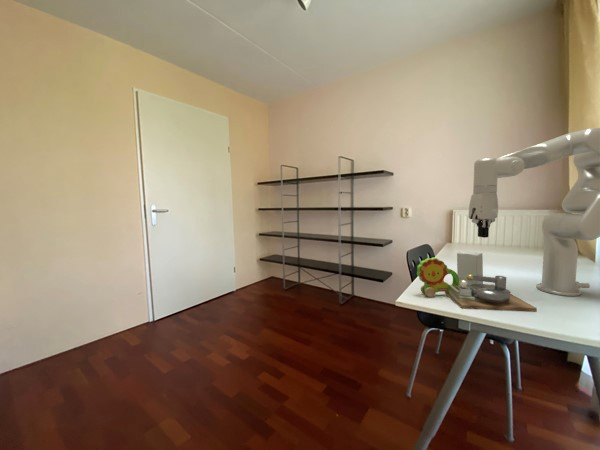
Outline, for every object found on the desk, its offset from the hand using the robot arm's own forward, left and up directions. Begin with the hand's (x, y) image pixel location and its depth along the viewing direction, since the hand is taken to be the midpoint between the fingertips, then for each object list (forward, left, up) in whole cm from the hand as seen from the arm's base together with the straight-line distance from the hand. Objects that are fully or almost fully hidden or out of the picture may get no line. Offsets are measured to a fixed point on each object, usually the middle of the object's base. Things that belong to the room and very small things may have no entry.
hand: (482, 236), depth 100 cm
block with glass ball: (+11, +9, -22) cm, 26 cm away
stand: (+2, +9, -23) cm, 25 cm away
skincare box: (0, -9, -23) cm, 25 cm away
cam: (+2, +10, -21) cm, 23 cm away
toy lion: (+18, +5, -23) cm, 30 cm away
